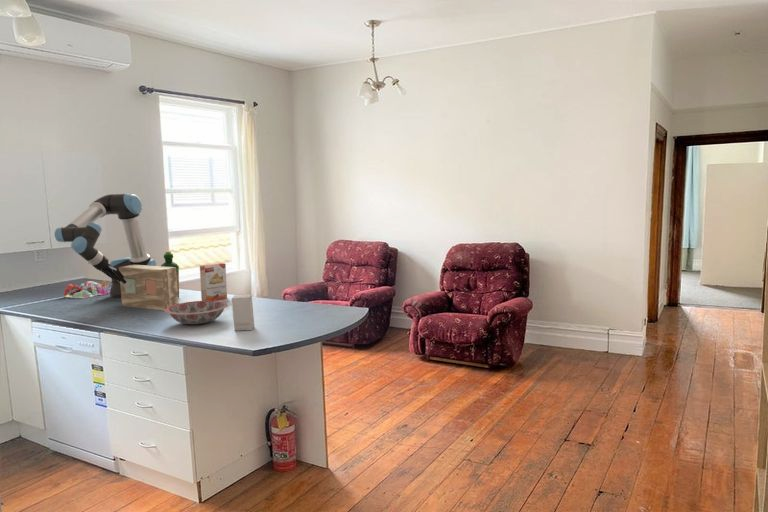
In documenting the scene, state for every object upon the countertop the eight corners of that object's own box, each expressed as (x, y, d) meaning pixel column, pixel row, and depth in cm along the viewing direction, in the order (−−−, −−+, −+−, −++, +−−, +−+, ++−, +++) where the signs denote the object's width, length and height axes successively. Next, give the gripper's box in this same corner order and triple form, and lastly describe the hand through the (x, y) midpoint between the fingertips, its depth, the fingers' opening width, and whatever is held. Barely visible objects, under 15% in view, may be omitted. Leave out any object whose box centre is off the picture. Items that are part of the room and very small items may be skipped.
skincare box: (254, 327, 264) (252, 294, 262) (252, 330, 257) (250, 297, 255) (236, 327, 263) (234, 294, 261) (233, 331, 257) (231, 297, 255)
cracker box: (207, 302, 324) (204, 266, 321) (201, 301, 328) (198, 265, 325) (228, 298, 335) (225, 263, 332) (221, 297, 339) (219, 262, 336)
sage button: (135, 293, 313) (134, 279, 312) (125, 292, 317) (124, 278, 316) (139, 292, 316) (138, 278, 315) (130, 291, 320) (128, 277, 319)
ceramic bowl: (193, 314, 294) (192, 299, 293) (241, 317, 284) (240, 302, 282) (152, 328, 267) (150, 311, 266) (202, 332, 257) (201, 315, 256)
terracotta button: (156, 295, 306) (155, 280, 305) (146, 294, 310) (145, 279, 309) (161, 294, 309) (160, 279, 308) (151, 293, 313) (149, 278, 312)
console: (164, 310, 305) (161, 270, 302) (122, 305, 321) (118, 267, 318) (178, 306, 314) (175, 267, 311) (137, 302, 330) (134, 264, 327)
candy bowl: (81, 291, 370) (80, 277, 369) (117, 291, 369) (115, 277, 368) (58, 299, 346) (57, 284, 345) (96, 299, 345) (95, 284, 344)
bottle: (177, 299, 333) (173, 252, 330) (159, 300, 334) (155, 253, 330) (183, 296, 344) (180, 250, 340) (166, 296, 344) (162, 250, 341)
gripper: (85, 265, 298) (116, 290, 314) (101, 266, 292) (132, 292, 308) (93, 254, 302) (123, 279, 318) (109, 254, 296) (139, 281, 312)
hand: (127, 286), depth 313 cm, fingers closed
